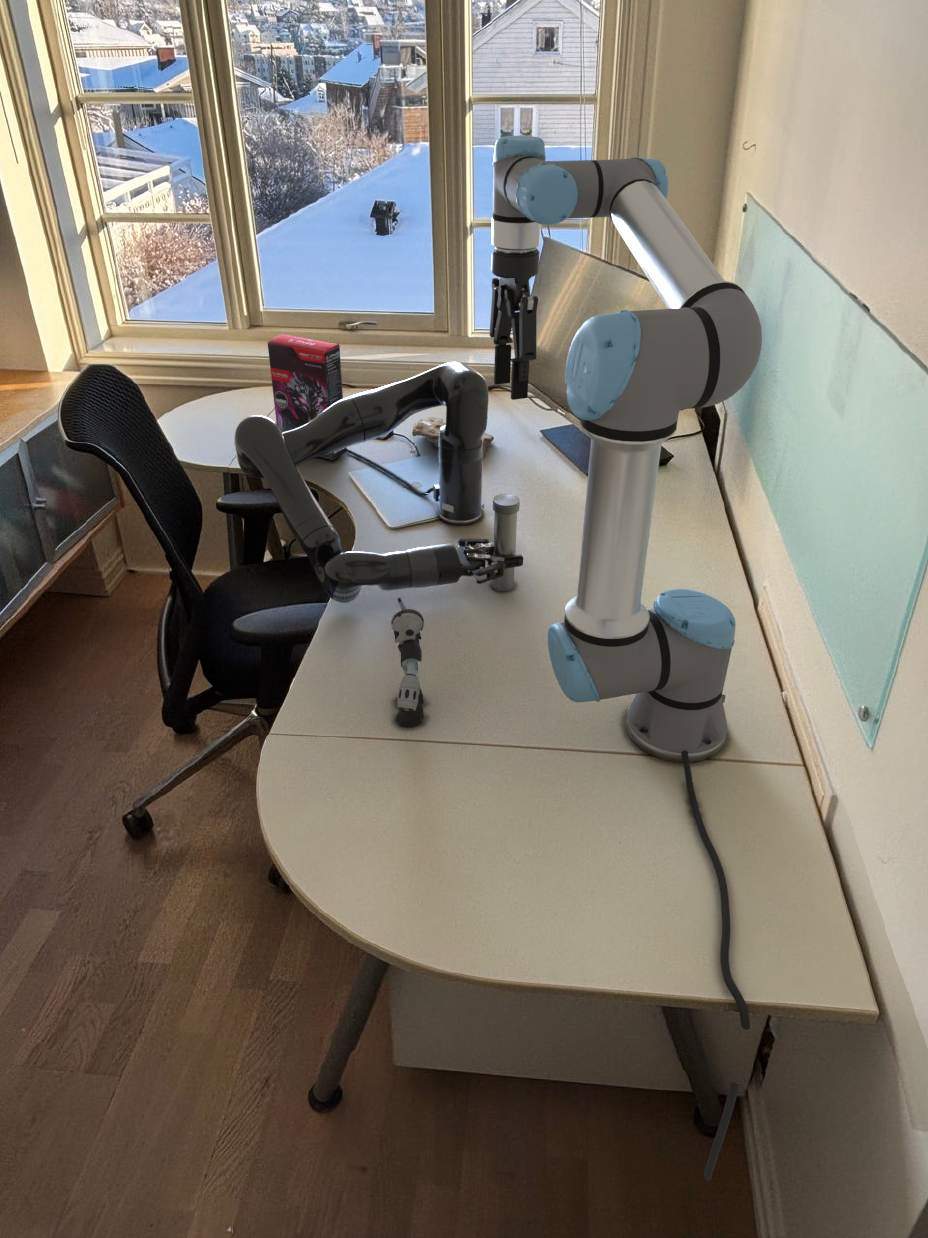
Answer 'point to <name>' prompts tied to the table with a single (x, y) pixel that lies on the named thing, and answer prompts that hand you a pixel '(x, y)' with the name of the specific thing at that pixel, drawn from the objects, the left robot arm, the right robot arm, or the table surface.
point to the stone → (431, 431)
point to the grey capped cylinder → (504, 548)
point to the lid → (506, 504)
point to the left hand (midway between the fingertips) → (517, 553)
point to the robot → (409, 665)
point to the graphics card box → (304, 380)
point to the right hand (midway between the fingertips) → (510, 390)
